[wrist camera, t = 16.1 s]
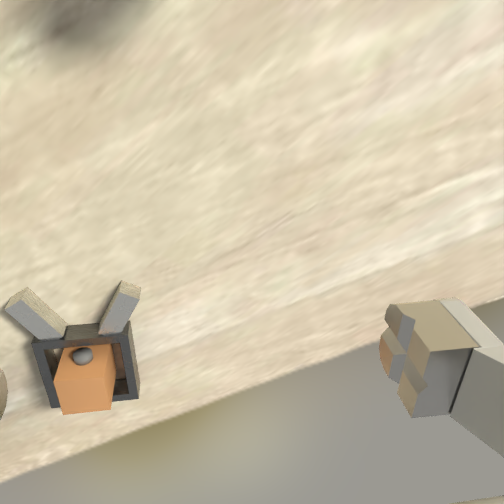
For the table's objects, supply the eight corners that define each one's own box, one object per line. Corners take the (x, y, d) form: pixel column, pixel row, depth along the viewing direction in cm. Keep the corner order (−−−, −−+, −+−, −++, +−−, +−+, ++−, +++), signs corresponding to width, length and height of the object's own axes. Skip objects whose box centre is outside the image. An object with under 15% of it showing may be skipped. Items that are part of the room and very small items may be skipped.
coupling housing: (41, 393, 54) (36, 409, 52) (8, 288, 46) (0, 302, 44) (153, 381, 56) (153, 397, 53) (139, 279, 48) (138, 292, 46)
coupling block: (75, 379, 54) (64, 419, 48) (64, 337, 50) (51, 376, 45) (117, 374, 54) (111, 414, 49) (109, 333, 51) (102, 371, 46)
